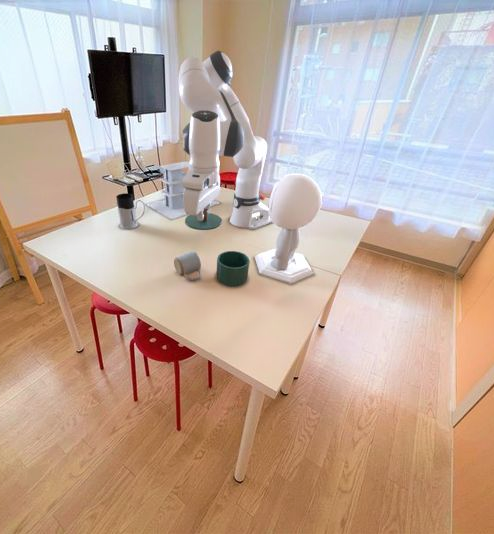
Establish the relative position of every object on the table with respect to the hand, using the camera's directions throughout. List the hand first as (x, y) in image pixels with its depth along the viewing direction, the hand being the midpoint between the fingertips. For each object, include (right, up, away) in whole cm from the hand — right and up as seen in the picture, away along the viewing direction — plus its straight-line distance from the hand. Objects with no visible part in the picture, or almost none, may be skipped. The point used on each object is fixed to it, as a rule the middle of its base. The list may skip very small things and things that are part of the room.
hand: (203, 217), depth 89 cm
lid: (0, -1, +1) cm, 2 cm away
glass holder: (-33, +4, +47) cm, 57 cm away
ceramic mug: (-5, -19, +14) cm, 24 cm away
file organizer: (-10, +21, +70) cm, 74 cm away
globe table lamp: (+32, -16, +18) cm, 40 cm away
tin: (+11, -20, +12) cm, 26 cm away
